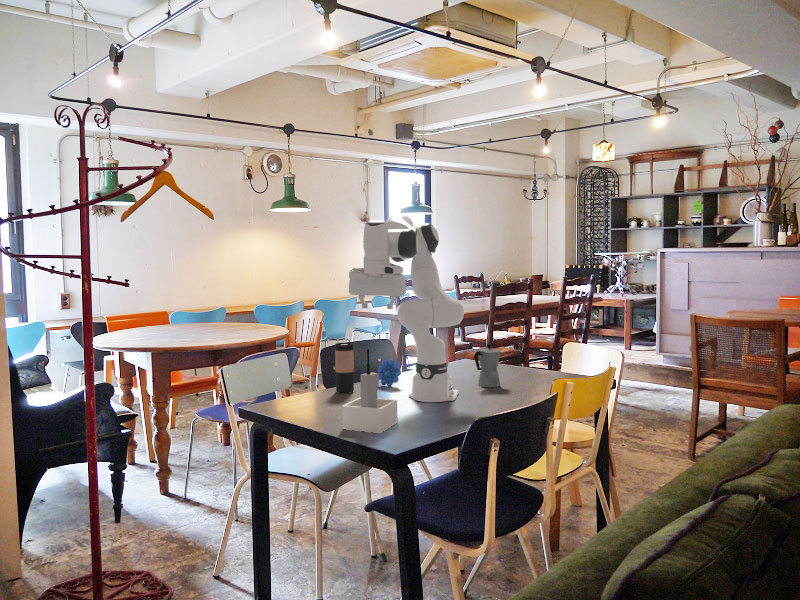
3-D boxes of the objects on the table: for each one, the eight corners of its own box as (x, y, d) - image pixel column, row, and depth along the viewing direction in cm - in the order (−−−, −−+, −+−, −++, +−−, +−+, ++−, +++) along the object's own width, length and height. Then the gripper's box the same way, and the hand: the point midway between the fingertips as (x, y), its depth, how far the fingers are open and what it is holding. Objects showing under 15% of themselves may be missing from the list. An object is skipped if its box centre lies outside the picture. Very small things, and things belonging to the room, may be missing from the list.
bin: (361, 419, 223) (360, 397, 223) (397, 423, 218) (397, 400, 217) (342, 429, 211) (342, 405, 210) (380, 433, 206) (380, 409, 205)
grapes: (406, 385, 279) (405, 358, 278) (398, 388, 273) (397, 360, 273) (382, 383, 285) (382, 356, 284) (374, 386, 279) (374, 358, 278)
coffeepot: (491, 382, 285) (491, 341, 284) (507, 385, 278) (507, 343, 277) (466, 386, 276) (466, 344, 274) (482, 390, 268) (482, 347, 267)
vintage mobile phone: (380, 423, 214) (378, 348, 213) (368, 426, 211) (367, 350, 209) (372, 421, 217) (371, 347, 215) (361, 424, 214) (359, 349, 212)
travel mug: (332, 393, 266) (331, 344, 265) (340, 389, 273) (339, 342, 272) (350, 394, 264) (349, 345, 262) (357, 390, 271) (356, 342, 270)
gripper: (345, 268, 222) (345, 308, 223) (400, 269, 214) (401, 310, 216) (353, 267, 228) (353, 306, 229) (407, 268, 220) (408, 308, 222)
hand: (377, 308), depth 222 cm, fingers open, 8 cm apart
